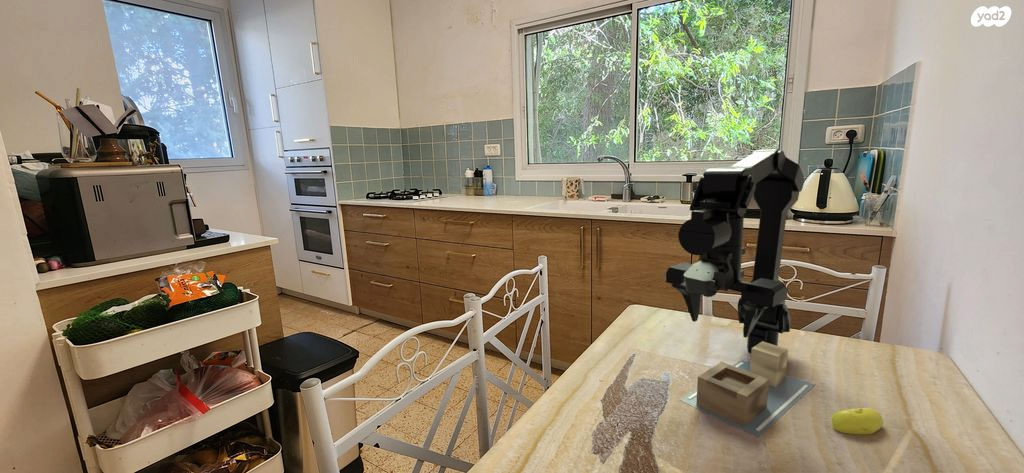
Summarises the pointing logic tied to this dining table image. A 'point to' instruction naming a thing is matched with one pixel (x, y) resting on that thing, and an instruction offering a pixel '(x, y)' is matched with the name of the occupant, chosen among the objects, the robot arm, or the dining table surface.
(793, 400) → the board
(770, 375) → the oak block
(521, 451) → the dining table surface
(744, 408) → the base block
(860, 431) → the yellow oval piece
